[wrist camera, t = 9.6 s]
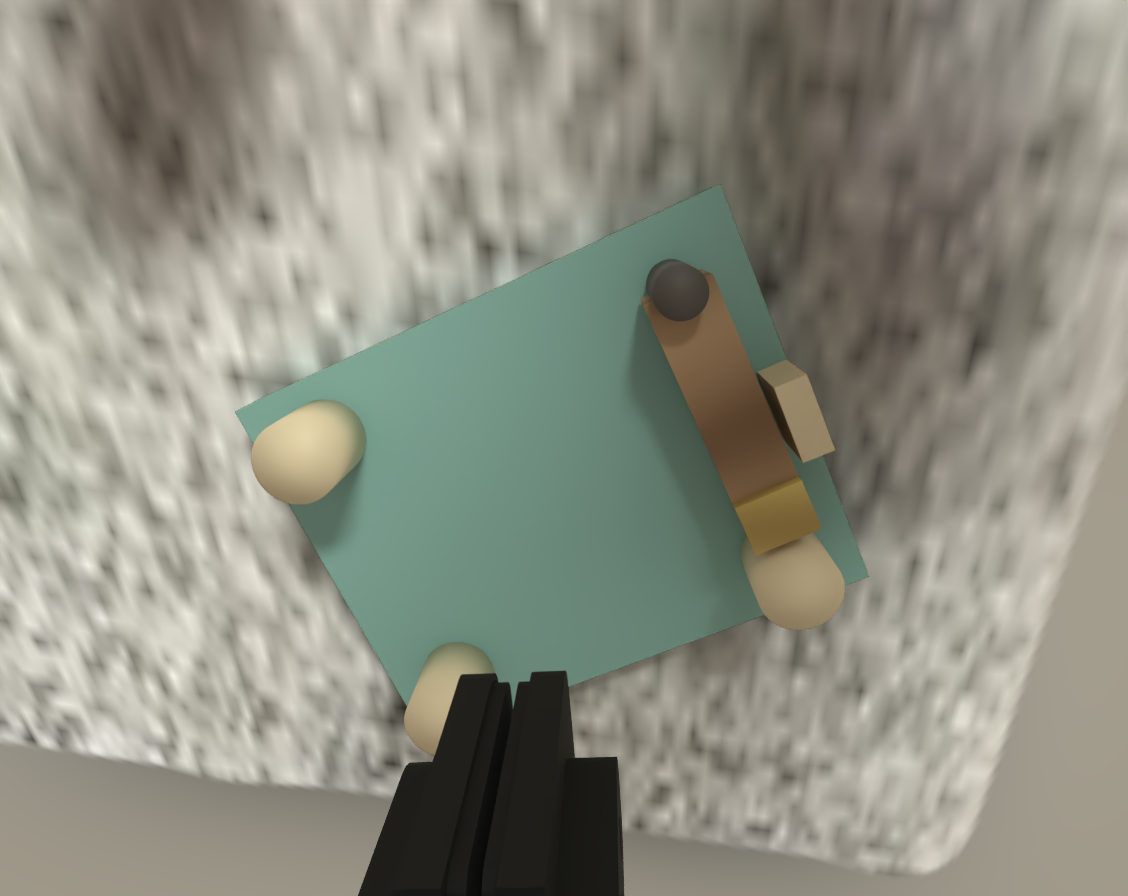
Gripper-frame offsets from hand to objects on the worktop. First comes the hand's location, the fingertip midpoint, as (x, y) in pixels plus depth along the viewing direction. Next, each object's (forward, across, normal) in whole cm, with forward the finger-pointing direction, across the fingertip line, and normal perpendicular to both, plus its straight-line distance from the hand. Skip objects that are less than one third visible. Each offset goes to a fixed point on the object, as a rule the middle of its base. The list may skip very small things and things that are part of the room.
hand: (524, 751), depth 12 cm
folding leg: (+19, -6, -1) cm, 20 cm away
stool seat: (+21, +1, +3) cm, 21 cm away
